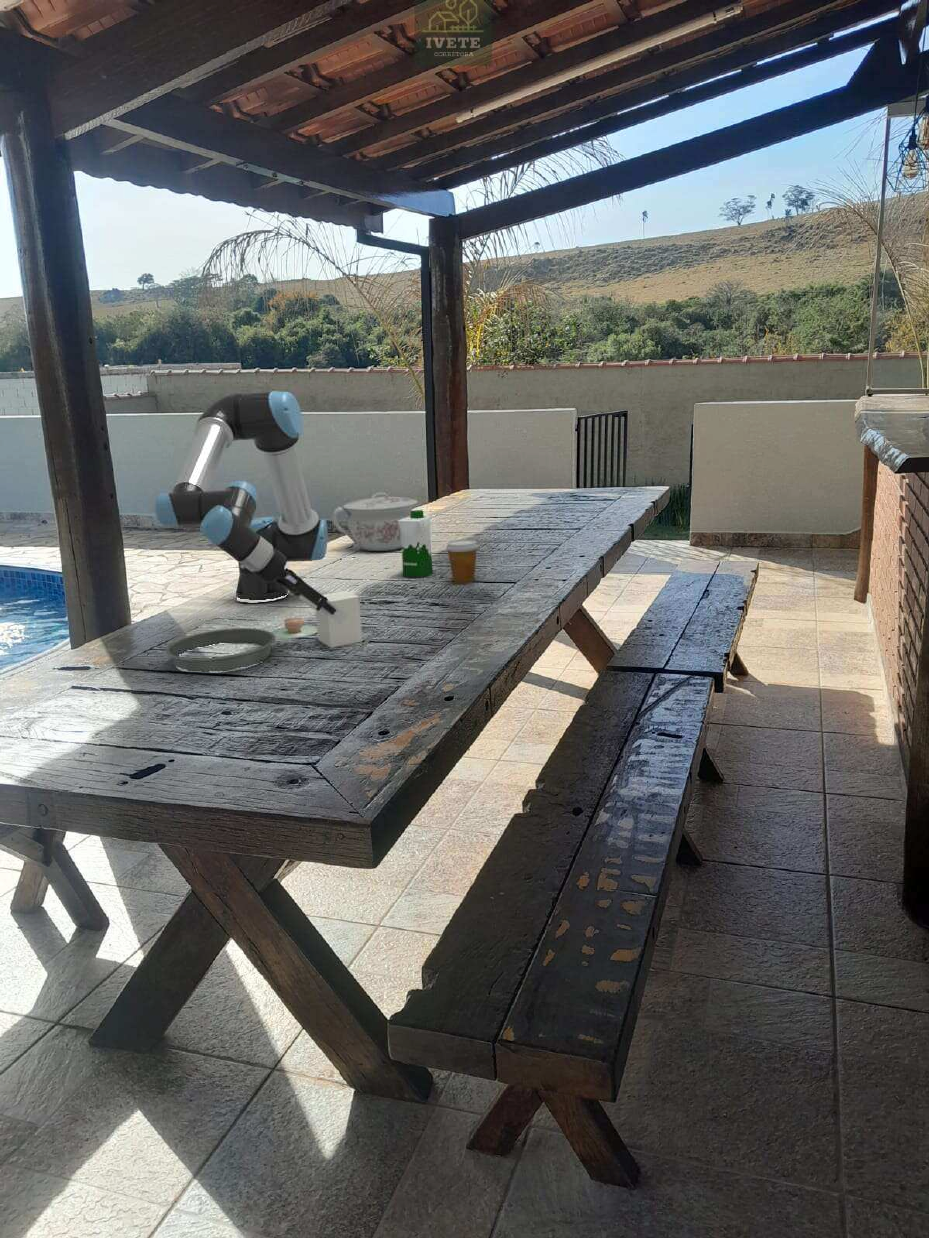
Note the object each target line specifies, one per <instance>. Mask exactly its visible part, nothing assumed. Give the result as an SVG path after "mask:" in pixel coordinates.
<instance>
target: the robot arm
mask: <svg viewBox="0 0 929 1238" xmlns="http://www.w3.org/2000/svg"><path fill="white" fill-rule="evenodd" d="M303 431H304V421H303V415H302V410H301V407H300V405H299V402H298V400H297V398H296V397H295V395H293V393H291V392H288V391H277V390H272V391H270V392H266V391H265V392H247V393H231V394H229V395H226V396H223V397H221V398H219V399H218V400H216V401H215V402H213V403H212V404H211V405H209V406H208V407H207V408H206V409H205V410H204V411H203V413H202V414H201V415H200V417H198V420H197V422H196V424H195V426H194V435H195V437H194V439H193V442H192V444H191V447H190V449H189V452H188V454H187V457H186V459H185V461H184V464H183V465H182V467H181V471H180V473H179V475H178V478H177V481H176V483H175V485H174V487H173V489H172V491H171V492H168V491H167V492H164V493H160V494H159V495H157V496H156V499H155V502H154V503H155V504H154V510H155V511H154V512H155V515H156V518H157V521H158V523H159V524H161V525H162V526H163V527H178V528H179V527H188V526H190V527H191V526H199V532H200V533H201V534H202V535H203V536H205V537H206V538H207V539H208V540H209V541H210V543H212V544H213V545H215V546H217V547H218V548H219V549H221V550H222V551H224V552H225V553H226V554H228V555H229V556H230V557H231V558H233V559H234V560H235V561H236V562H237V563H238V571H239V576H238V580H237V585H236V589H235V598H236V597H238V598H240V599H249V600H266V599H274V598H278V597H281V596H285V595H287V593H289V592H290V594H293V595H294V596H295V597H298V599H299V600H301V601H302V602H303V603H305V604H306V605H307V606H308V607H310V608H311V609H312V610H314V611H315V612H316V610H318V611H319V610H321V611H323V612H324V613H325V614H326V615H328V616H329V617H330V618H332V619H333V620H334V621H335V622H337V623H338V624H339V625H341V623H342V622H343V621H344V619H345V618H346V617H347V615H346V614H345V613H344V612H342V611H341V610H340V609H339V608H337V607H336V606H335V605H334V604H332V603H331V602H330V601H328V599H327V598H326V597H324V596H323V595H324V594H321V593H320V592H318V591H317V590H316V589H314V588H313V587H312V586H310V585H309V584H308V583H307V582H305V581H304V579H302V578H301V577H300V576H298V575H297V574H296V573H295V572H294V570H292V569H289V568H287V567H286V565H287V563H288V562H289V563H290V562H292V563H293V562H313V561H322V560H323V559H324V558H325V557H326V554H327V551H328V550H327V547H328V538H329V537H328V536H329V535H328V522H327V521H326V520H325V519H323V518H321V519H320V518H319V514H318V513H317V511H315V510H314V509H312V508H311V504H310V499H309V495H308V492H307V491H308V490H307V488H306V483H305V479H304V476H303V471H302V467H301V462H300V459H299V455H298V451H297V446H296V445H297V444H298V443H299V440H300V437H301V436H302V434H303ZM241 440H243V441H246V440H247V441H249V440H250V441H251V440H253V442H254V445H255V447H256V449H257V450H258V451H260V452H262V453H263V456H264V458H265V463H266V466H267V470H268V473H269V474H268V475H269V477H270V481H271V485H272V488H273V491H274V492H273V493H274V495H275V499H276V503H277V507H278V510H279V513H280V517H279V518H278V520H277V521H276V519H275V517H274V516H263V517H258V518H254V515H255V512H256V510H257V508H258V501H259V495H258V493H259V492H258V491H257V489H256V488H255V487H254V486H253V485H252V484H251V483H249V482H247V481H243V480H236V481H233V482H231V483H229V485H228V486H227V487H226V488H225V490H224V489H223V490H210V489H211V487H212V484H213V482H214V479H215V476H216V474H217V471H218V468H219V466H220V463H221V461H222V458H223V455H224V453H225V450H227V449H228V448H230V447H231V445H232V443H233V442H235V441H241ZM253 518H254V519H253ZM285 567H286V568H285ZM320 599H321V600H320ZM319 600H320V601H319ZM315 605H316V606H317V608H316V609H315Z"/></svg>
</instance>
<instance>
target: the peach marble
mask: <svg viewBox="0 0 929 1238" xmlns="http://www.w3.org/2000/svg"><path fill="white" fill-rule="evenodd" d="M283 623H284V627H285V629H288V633H298V632H301V627H303V625H304V624H303V618H302V617H290V618H286V619H284V620H283Z"/></svg>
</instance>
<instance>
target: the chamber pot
mask: <svg viewBox="0 0 929 1238" xmlns="http://www.w3.org/2000/svg"><path fill="white" fill-rule="evenodd" d="M418 502H419V501H418V500H417V499H413V498H409V497H402V496H388V494H387V493H385V492H376V493H374V494H373V495H371V497H369V498H363V499H357V500H353V501H350V502H348V503H345V504H344V505H343V506H337V508H335V509H334V511H333V513H332V523H333V525H334V527H335V528H336V529H337V530H338V532H341V533H342V534H344V535H346V537H348V538H350V540H351V541H352V542H353V543H355V544H356V545H357V546H358V547H359V548H360V549H362V550H364V551H367V552H371V551H385V552H392V551H397V549H398V550H400V549H402V546H401V533H400V529H399V525H398V520H401V519H403V518H407V517H411V511H413V510H412V508H413V506H415V505H417V504H418ZM340 513H344V514H345V515H346V521H347V526H348V529H349V531H348V530H346V529H344V528H342V526H341V525H340V524H339V522H338V517H337V516H338V514H340Z"/></svg>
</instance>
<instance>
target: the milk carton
mask: <svg viewBox="0 0 929 1238" xmlns="http://www.w3.org/2000/svg"><path fill="white" fill-rule="evenodd" d="M431 519H432V518H431V516H424V510H422V509H420V510H419V509H414V510H412V511H411V517H407V518H403V519H401V520H398V525H399V529H400V533H401V546H402V548H401V557H402V559H401V560H402V577H403V578H418V579H419V578H420V579H423V578H424V577H427V576H428V575H432V574H433V573H434V571H433V559H432V558H433V557H432V541H431Z"/></svg>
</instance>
